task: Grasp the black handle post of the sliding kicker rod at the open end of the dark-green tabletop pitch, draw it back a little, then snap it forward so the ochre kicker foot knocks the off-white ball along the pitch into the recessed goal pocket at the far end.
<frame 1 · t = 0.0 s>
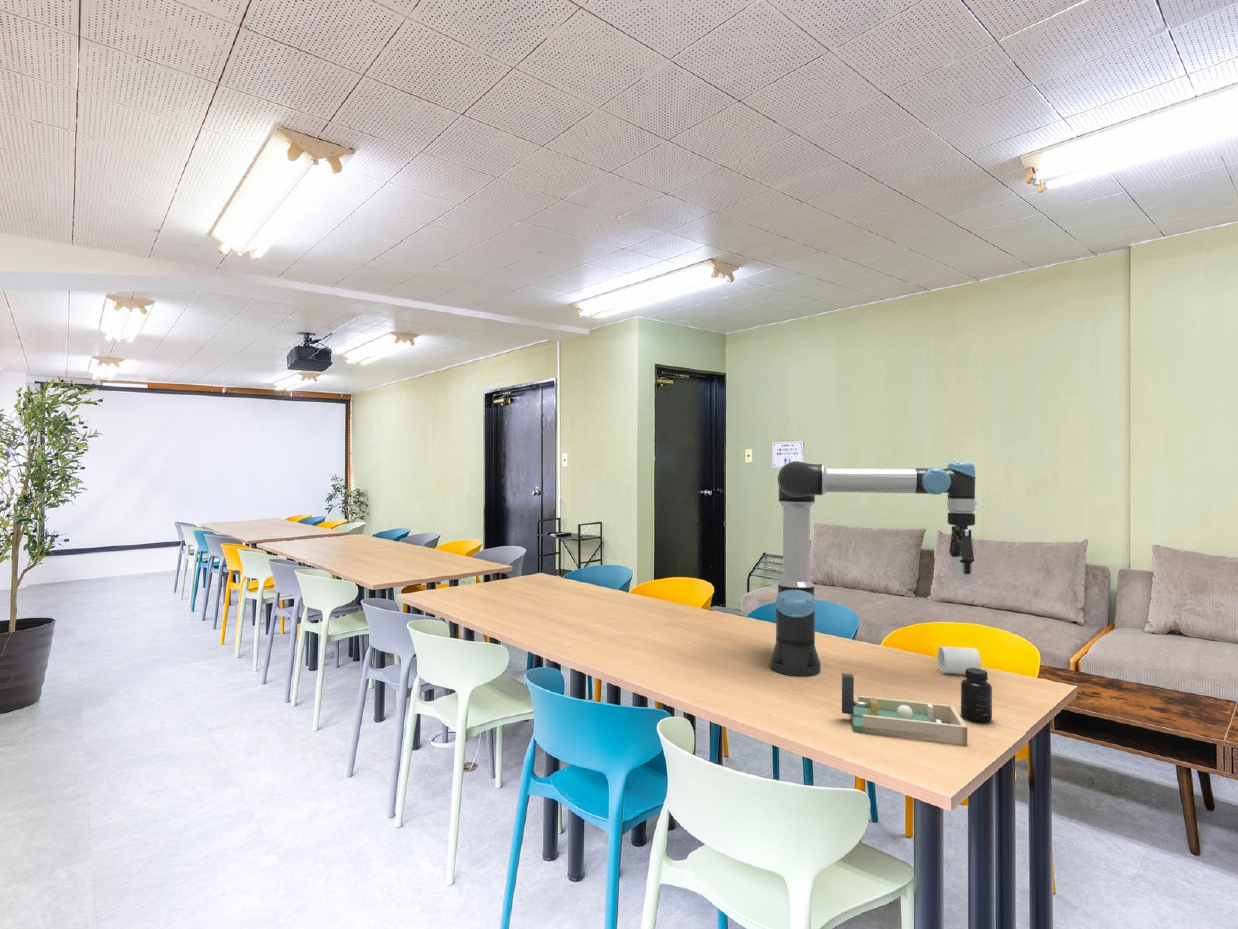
hand: (960, 580, 194), 28 cm above the table, fingers open, 13 cm apart
pitch: (904, 726, 151), on the table
ball: (904, 713, 151), point 3 cm above the table, touching pitch
kicker rod: (859, 695, 154), point 6 cm above the table, slide at 0.0 cm
supplement bottle: (976, 719, 157), on the table
mug: (956, 672, 194), on the table
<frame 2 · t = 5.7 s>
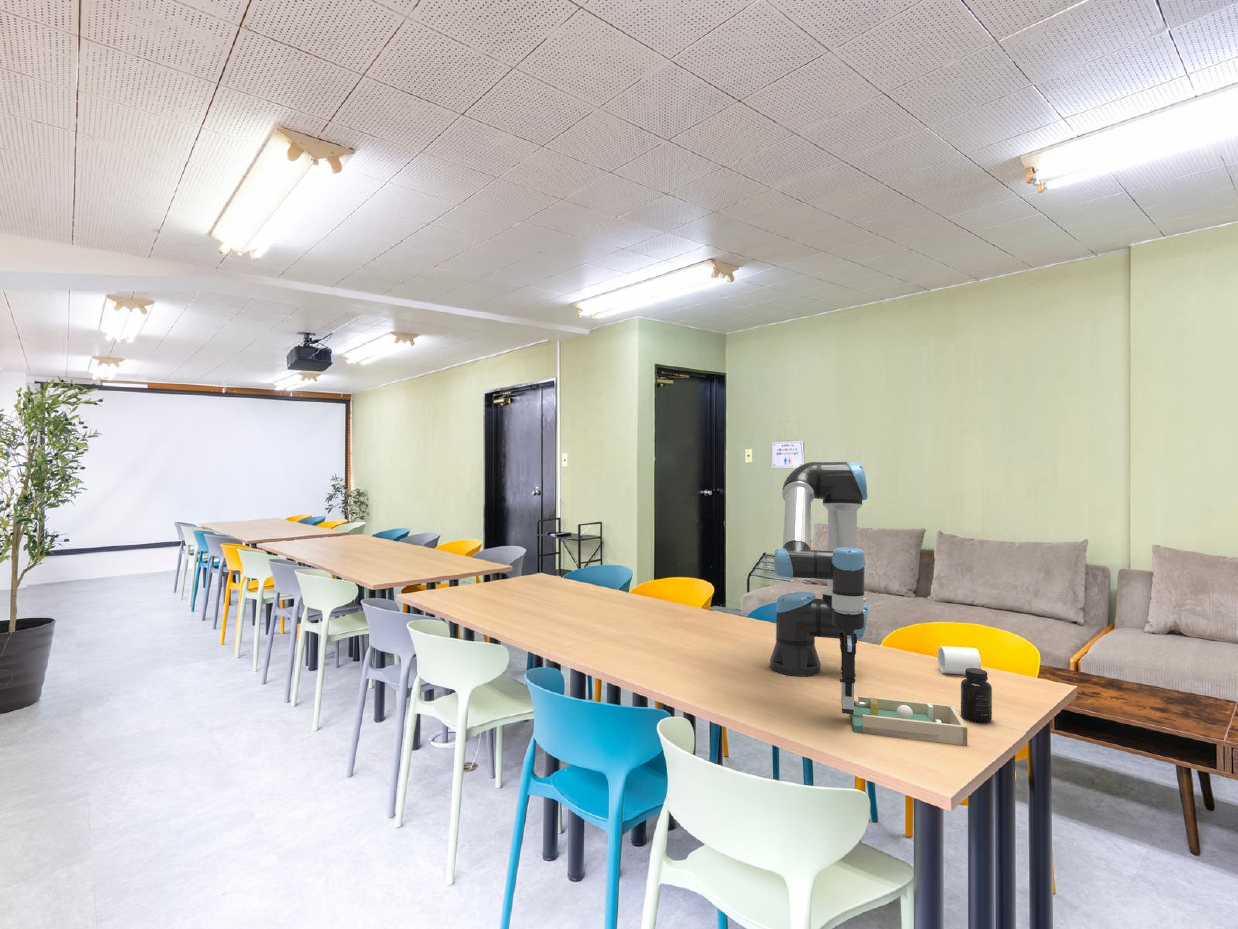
hand: (847, 705, 155), 4 cm above the table, fingers closed on kicker rod, 3 cm apart
kicker rod: (859, 695, 154), point 6 cm above the table, slide at 0.0 cm, touching gripper
everything else where it was.
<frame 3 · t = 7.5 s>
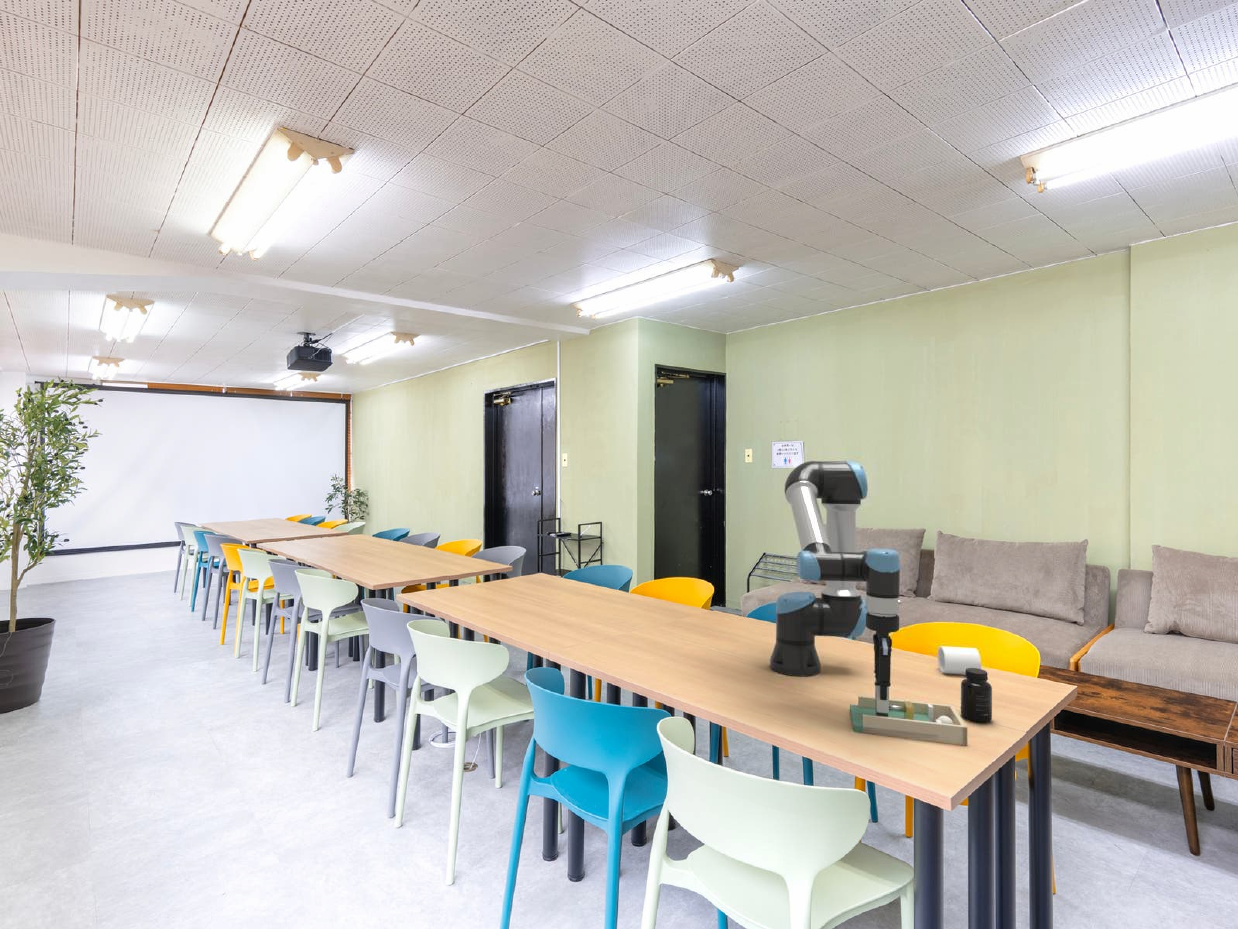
hand: (881, 709, 153), 4 cm above the table, fingers closed on kicker rod, 3 cm apart
ball: (944, 724, 149), point 2 cm above the table, tilted 81°
kicker rod: (894, 698, 152), point 6 cm above the table, slide at 7.9 cm, touching gripper
everything else where it was.
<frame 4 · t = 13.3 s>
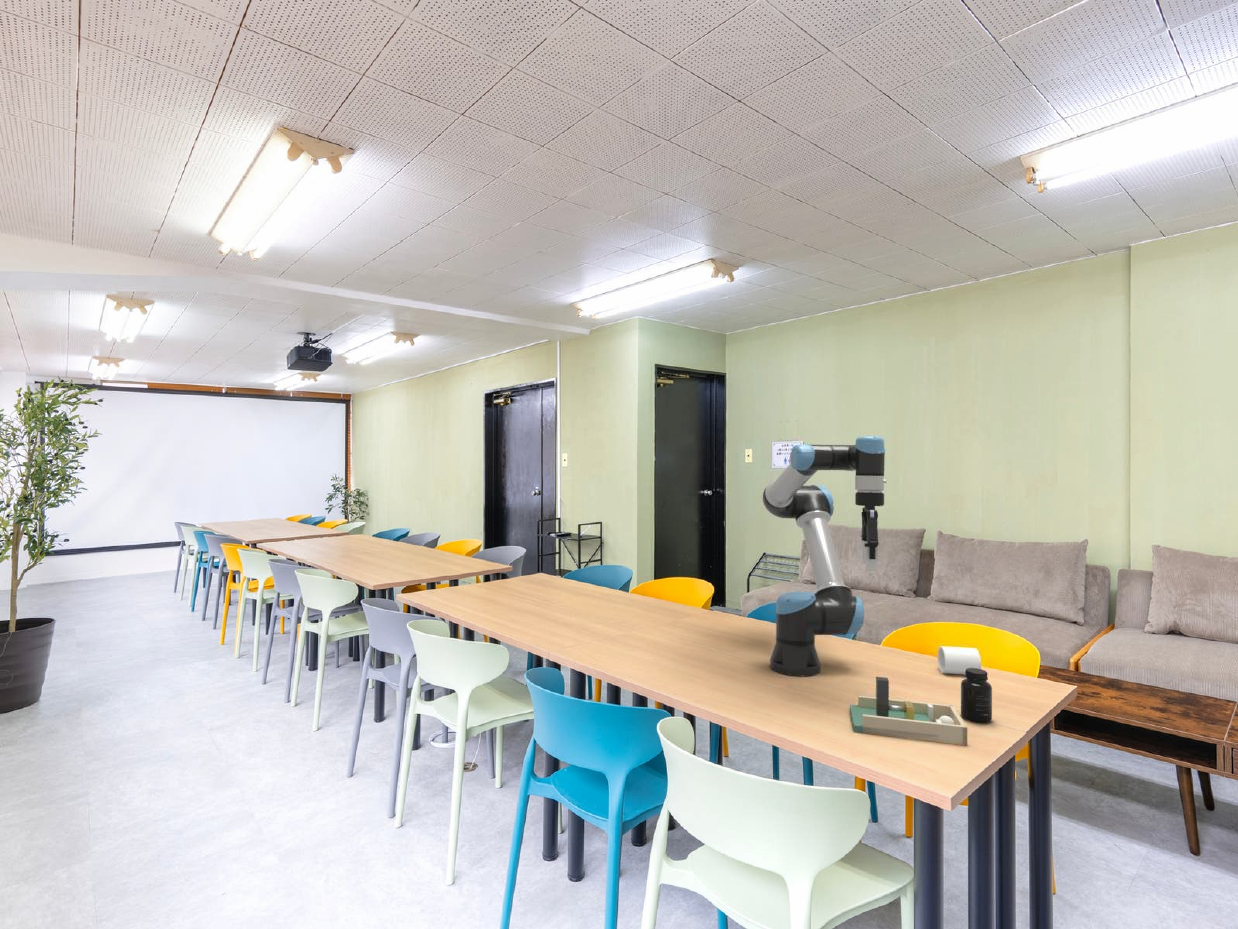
hand: (869, 567, 175), 35 cm above the table, fingers open, 13 cm apart
ball: (946, 723, 149), point 2 cm above the table, tilted 60°
kicker rod: (894, 698, 152), point 6 cm above the table, slide at 7.9 cm
everything else where it was.
at the end: ball inside the target area on the pitch (0.3 cm from its centre), point 1.8 cm above the pitch's base; kicker rod slide at 7.9 cm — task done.
